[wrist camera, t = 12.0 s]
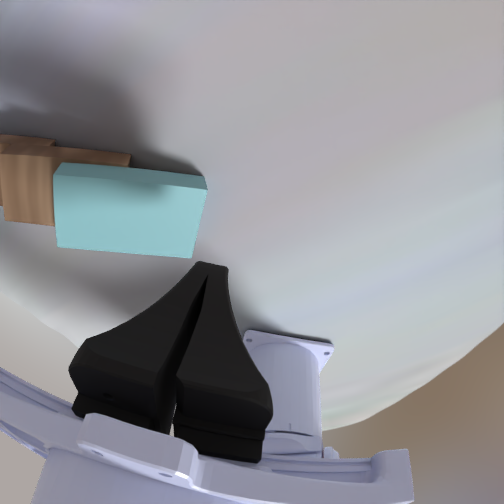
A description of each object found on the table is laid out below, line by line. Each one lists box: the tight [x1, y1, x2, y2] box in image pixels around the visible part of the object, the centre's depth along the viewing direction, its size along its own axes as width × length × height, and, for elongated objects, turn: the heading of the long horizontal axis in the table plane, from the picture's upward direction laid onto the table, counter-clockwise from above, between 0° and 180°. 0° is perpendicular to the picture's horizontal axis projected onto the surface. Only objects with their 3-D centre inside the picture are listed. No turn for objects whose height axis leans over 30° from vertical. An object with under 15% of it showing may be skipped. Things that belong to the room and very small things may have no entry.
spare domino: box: [53, 162, 208, 258], centre depth 18 cm, size 2×5×9 cm
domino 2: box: [0, 144, 131, 226], centre depth 17 cm, size 2×5×9 cm
